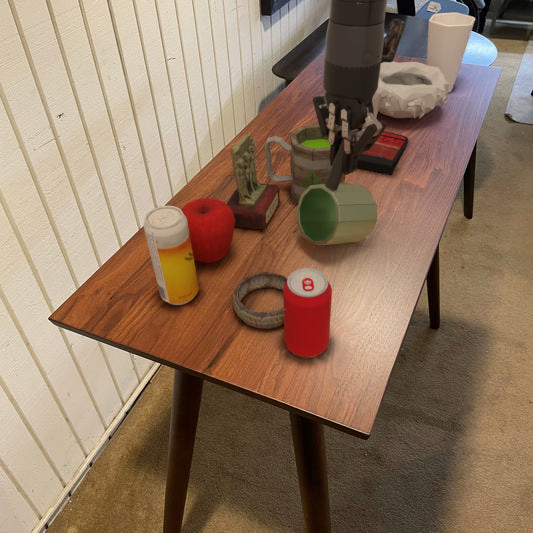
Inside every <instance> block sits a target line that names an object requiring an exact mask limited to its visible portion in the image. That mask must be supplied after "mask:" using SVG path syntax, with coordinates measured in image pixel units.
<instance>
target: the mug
mask: <svg viewBox="0 0 533 533" xmlns="http://www.w3.org/2000/svg"><path fill="white" fill-rule="evenodd" d="M326 125H327V124H326ZM327 127H328V125H327ZM289 139H290V144H288V143H287V142H286V141H285V139H283V138H282V137H280V136H277V135H274V136H270V137H268V138H267V139H266V143H265V145H264V154H265V160H266V162H265V163H266V171H267V175H268V176H269V178H270V180H271V181H274V182H276V183H284V182H290V194H291V197H292V200H293V202H294V203H296V204H298V203H299V200H300V197H301V195H302V193H303V192H304V191H305V190H306V189H307V188H308V187H309V186H311V185H319V184H326V182H327V179H328V176H329V173H330V171H331V168H332V166H331V165H330V146H331V144H330V143H329V141H328V137H327V136H325V137H324V136H322V134H321V130H320V126H319V123H318V124H307V125H306V124H305V125H302V126H300V127H299V128H297V129H296V130H294V131H293V132H291V133H290V134H289ZM271 143H276V144H279V147H281V148H282V149H283V150H285V151H286V152H290V161H289V165H290V174H285V175H280V176H279V175H277V174H275V173H274V170H273V164H272V162H273V161H272V152H271V149H270V145H271ZM345 181H346V175H345V174H343V175H342V178H341V181H340V184H345Z"/></svg>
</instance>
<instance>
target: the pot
mask: <svg viewBox="0 0 533 533" xmlns="http://www.w3.org/2000/svg"><path fill="white" fill-rule="evenodd" d="M353 143H354V140H352V144H353ZM343 152H345V151H344V138H343V137H342V139H341V142H340V145H339V148H338V151H337V153H336V156H335V159H334V162H333V165H332V168H331V171H330V173H329V176H328V179H327V182H326V184H319V185H311V186H309V187H308V188H307V189H306V190H305V191H304V192H303V193H302V195H301V197H300V200H299V203H297V207H296V223H297V226H298V228H299V231H300V233H301V236H302V237H303V239H305V240H306V241H307V242H308V243H310V244H311V245H312V246H329V245H338V244H347V243H358V242H362V241H364V240H365V239H366V238H368V237H369V236H370V235H371V234H372V233H373V231H374V229H375V226H376V224H377V221H378V204H377V203H376V200H375V198H374V196H373V194H372V192H371V190H370V189H368V188H366V187H365V186H363V185H361V184H359V183H344V184H340V181H341V178H342V175H343V173H342V163H343Z"/></svg>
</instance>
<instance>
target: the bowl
mask: <svg viewBox="0 0 533 533" xmlns="http://www.w3.org/2000/svg"><path fill="white" fill-rule="evenodd" d="M448 89H449V83H448V82H447V81H446V80H445V77H444V74H443V73H442V72H441V71H440V69H439V67H432V66H428V65H426V63H425V64H424V63H421V62H419V61H403V62H397V61H393V62H390V63H389V62H383V63H381V66H380V74H379V82H378V88H377V90H376V92H375V94H374V96H373V98H372V103H373V107H374V111H373V115H374V116H375V117H376V118H378V117H377V116H378V113H380V114H382V115H384V116H387V117H391V118H394V119H412V118H414V120H415V119H416V118H418V119H421V118H422V117H423V116H424V115H425V114H429V113H430V112H431V111H432V110H434V109H435V108H436V107H437V106H438V107H439V105H440V104H441V109H443V107H444V104H445V102H447V101H448V95H449V94H448V93H449V92H448Z"/></svg>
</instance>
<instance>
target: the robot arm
mask: <svg viewBox="0 0 533 533" xmlns="http://www.w3.org/2000/svg"><path fill="white" fill-rule="evenodd" d="M387 3H388V0H329V11H328V12H329V13H328V24H327V28H326V34H325V46H324V47H325V48H324V49H325V50H324V65H323V79H322V81H323V82H322V87H323V89H324V91H325V93H322V94H319V95H317V96H314V97H313V98H312V103H313V107H314V111H315V114H316V119H317V123H318V124H319V126H320V130H321V134H322V136H324V137H325V136H327V137H328V141H329V143H330V144H331V146H330V165H331V166H332V165H333V162H334V159H335V156H336V153H337V151H338V148H339V145H340V142H341V139H342V137H343V138H344V151H345V152H343V163H342V173H343V174H345V176H347V175H348V176H349V175H350V174H352V173H354V172H355V171H357V170H358V168H357V164H358V156H359V154H361V153H363V152H366V151H368V150H370V149H371V148H372V146H373V145H374V144H375V142H376V141H377V139H378V138H379V137H380V135H381V134H382V132H383V131H386V128H387V123H386V121H384V120H380V121H379V120H378V119H377V117H375V116H374V107H373V103H372V98H373V96H374V94H375V92H376V90H377V88H378V82H379V74H380V66H381V59H382V51H383V43H384V37H385V18H386V10H387V5H388V4H387ZM326 119H327V121H326ZM326 122H328V127H327V125H326ZM353 139H354V143H353V144H352V140H353Z"/></svg>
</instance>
